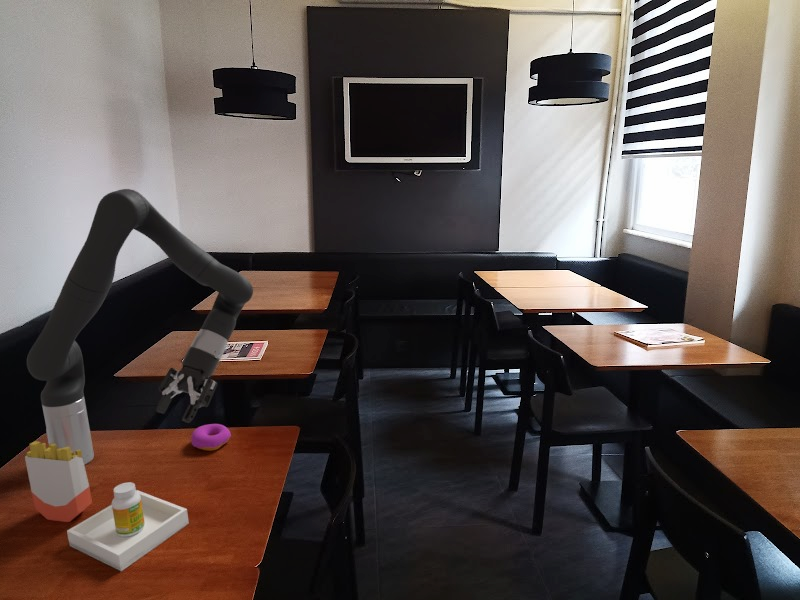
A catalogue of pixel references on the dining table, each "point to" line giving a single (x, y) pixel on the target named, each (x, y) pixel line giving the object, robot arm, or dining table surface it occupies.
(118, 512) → the supplement bottle
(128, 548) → the tray
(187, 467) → the dining table surface
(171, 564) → the dining table surface
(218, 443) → the donut
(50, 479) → the french fries container
